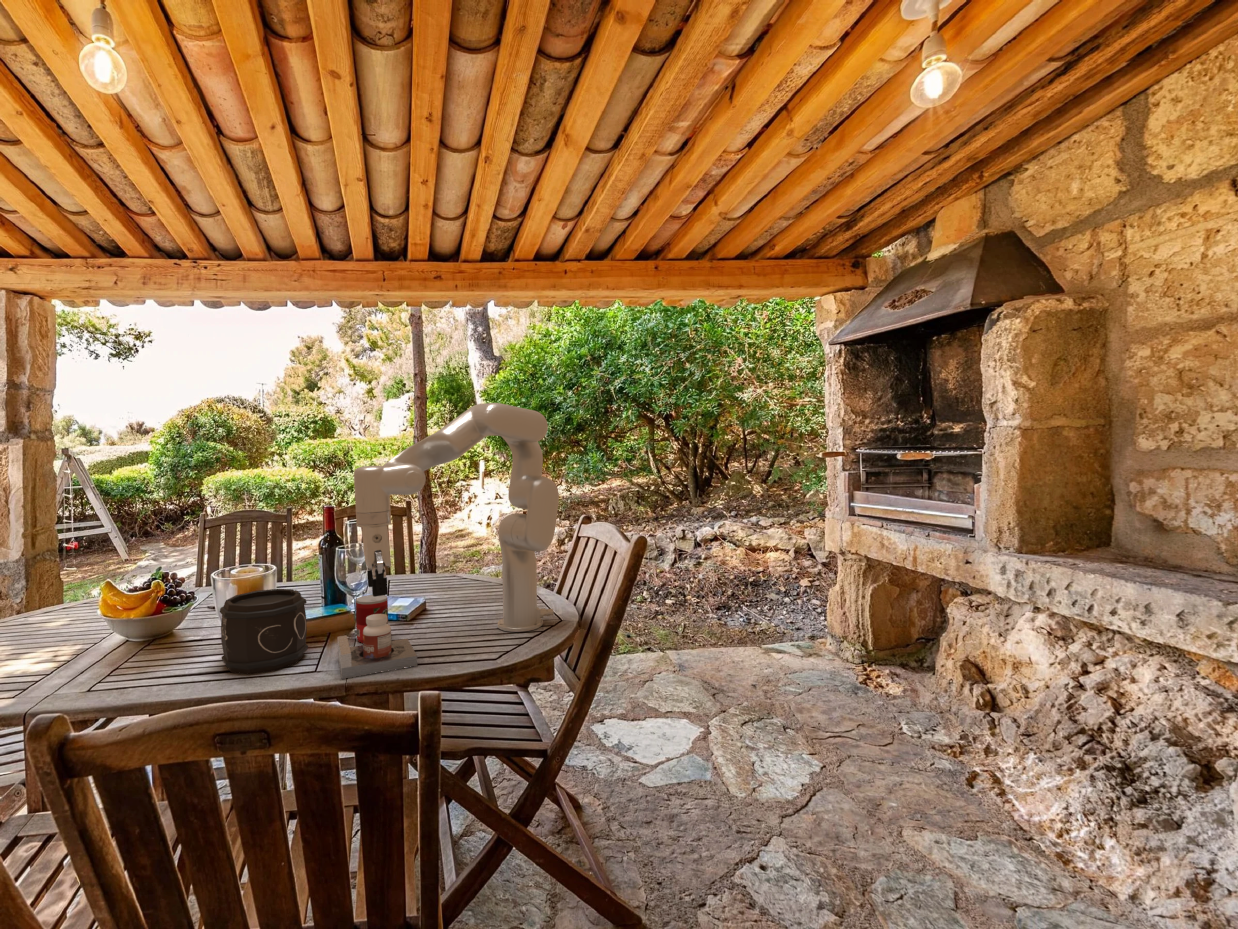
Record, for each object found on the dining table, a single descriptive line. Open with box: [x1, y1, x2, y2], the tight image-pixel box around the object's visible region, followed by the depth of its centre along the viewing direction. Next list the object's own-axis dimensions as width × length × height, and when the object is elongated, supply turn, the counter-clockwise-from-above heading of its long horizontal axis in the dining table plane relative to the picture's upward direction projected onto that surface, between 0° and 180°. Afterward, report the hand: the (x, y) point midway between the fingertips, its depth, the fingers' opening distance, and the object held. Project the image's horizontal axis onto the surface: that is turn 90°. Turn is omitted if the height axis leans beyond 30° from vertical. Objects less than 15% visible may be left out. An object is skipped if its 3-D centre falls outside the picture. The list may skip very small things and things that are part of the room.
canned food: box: [355, 594, 389, 644], centre depth 161 cm, size 8×8×11 cm
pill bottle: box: [362, 614, 392, 658], centre depth 144 cm, size 6×6×11 cm
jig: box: [337, 635, 418, 680], centre depth 144 cm, size 16×14×6 cm
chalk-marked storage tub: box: [219, 588, 309, 675], centre depth 146 cm, size 18×18×16 cm
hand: (377, 590), depth 144 cm, fingers open, 9 cm apart
